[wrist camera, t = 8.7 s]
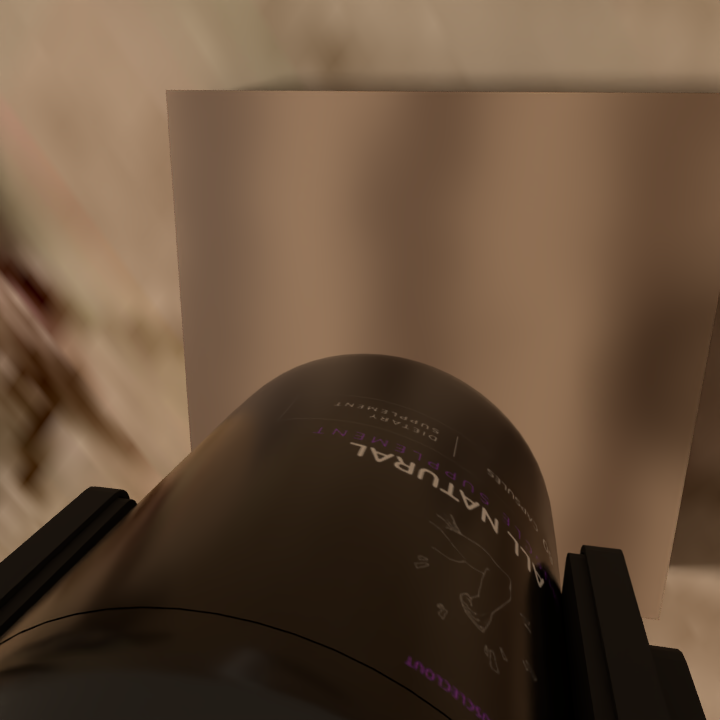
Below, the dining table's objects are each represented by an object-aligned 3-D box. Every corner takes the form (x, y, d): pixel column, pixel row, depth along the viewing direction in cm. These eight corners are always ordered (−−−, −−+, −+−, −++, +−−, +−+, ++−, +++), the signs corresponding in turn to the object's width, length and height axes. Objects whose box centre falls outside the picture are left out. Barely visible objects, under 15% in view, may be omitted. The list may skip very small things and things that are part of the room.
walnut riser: (722, 98, 20) (756, 93, 17) (642, 565, 25) (658, 620, 22) (207, 94, 23) (165, 90, 20) (229, 513, 28) (198, 555, 25)
